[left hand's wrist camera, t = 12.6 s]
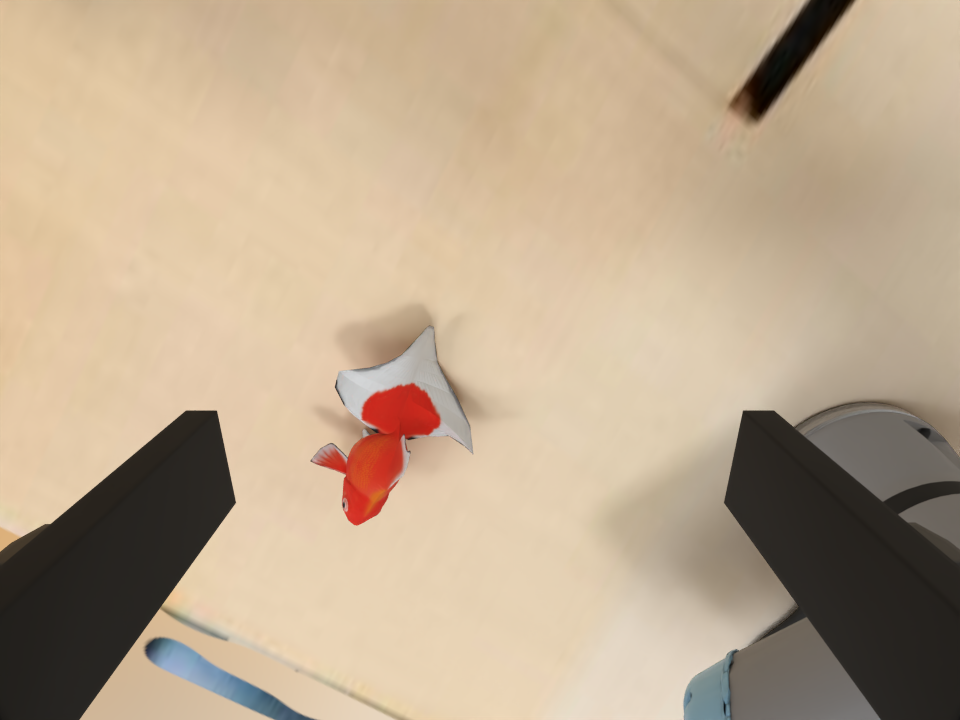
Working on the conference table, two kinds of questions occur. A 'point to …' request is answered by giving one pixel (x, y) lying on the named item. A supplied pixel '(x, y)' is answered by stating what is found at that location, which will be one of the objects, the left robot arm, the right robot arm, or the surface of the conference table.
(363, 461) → the fish
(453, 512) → the conference table surface
